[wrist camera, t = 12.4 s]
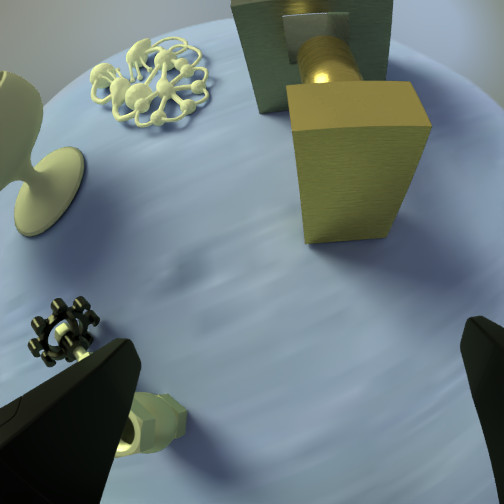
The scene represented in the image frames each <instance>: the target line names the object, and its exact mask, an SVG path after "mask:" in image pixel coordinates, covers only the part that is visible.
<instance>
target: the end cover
mask: <svg viewBox="0 0 504 504" xmlns="http://www.w3.org/2000/svg"><path fill="white" fill-rule="evenodd" d="M297 62H298V67H299V72H300V77H301V82H302V84H297V85H287V86H286V89H287V97H288V104H289V112H290V120H291V128H292V135H293V143H294V150H295V158H296V166H297V174H298V182H299V191H300V200H301V209H302V219H303V228H304V239H305V244H312V243H325V242H337V241H350V240H363V239H375V238H386V237H387V235H388V233H389V231H390V229H391V226H392V224H393V222H394V220H395V218H396V215H397V213H398V211H399V209H400V206H401V204H402V202H403V200H404V197H405V195H406V193H407V190H408V188H409V185H410V183H411V181H412V178H413V176H414V173H415V171H416V168H417V166H418V163H419V160H420V158H421V155H422V153H423V150H424V147H425V145H426V142H427V139H428V136H429V134H430V131H431V128H432V125H431V123H430V120H429V118H428V116H427V114H426V112H425V110H424V108H423V106H422V104H421V102H420V100H419V98H418V96H417V94H416V92H415V90H414V88H413V86H412V84H411V82H408V81H364V80H363V78H362V75H361V73H360V71H359V68H358V66H357V64H356V61H355V59H354V57H353V55H352V52H351V50H350V48H349V47H348V45H347V44H346V43H345V42H344V41H342V40H341V39H339V38H336V37H333V36H317V37H313V38H311V39H309V40H307V41H306V42H305V43H303V44H302V46H301V47H300V48H299V50H298V53H297Z"/></svg>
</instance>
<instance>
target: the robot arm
mask: <svg viewBox="0 0 504 504" xmlns="http://www.w3.org/2000/svg"><path fill="white" fill-rule="evenodd" d="M460 350H461V354H462V358H463V362H464V366H465V369H466V373H467V377H468V382H469V386H470V390H471V394H472V398H473V401H474V404H475V407H476V411H477V414H478V417H479V420H480V423H481V427H482V430H483V434H484V437H485V441H486V444H487V448H488V452H489V456H490V460H491V464H492V469H493V473H494V478H495V483H496V488H497V493H498V498H499V504H504V328H503V327H502V326H500V325H498V324H496V323H494V322H492V321H491V320H489V319H487V318H485V317H483V316H474V317H470V318H468V319H467V321H466V324H465V328H464V331H463V335H462V339H461V342H460ZM140 371H141V361H140V358H139V356H138V354H137V351H136V349H135V347H134V344H133V342H132V341H131V340H130V339H127V338H117V339H115V340H113V341H111V342H110V343H108V344H106V345H105V346H103V347H101V348H100V349H98V350H96V351H95V352H93V353H92V354H90V355H88V356H87V357H85V358H83V359H82V360H80V361H78V362H77V363H75V364H73V365H72V366H70V367H68V368H67V369H65V370H63V371H62V372H60V373H59V374H57V375H55V376H54V377H52V378H50V379H49V380H47V381H45V382H44V383H42V384H40V385H39V386H37V387H35V388H34V389H32V390H30V391H29V392H27V393H25V394H24V395H23V396H20V397H19V398H17V399H15V400H14V401H12V402H10V403H9V404H7V405H5V406H3V407H2V408H0V504H100V501H101V498H102V494H103V491H104V488H105V485H106V482H107V478H108V475H109V472H110V469H111V466H112V463H113V460H114V457H115V454H116V451H117V448H118V445H119V442H120V440H121V437H122V434H123V431H124V428H125V425H126V422H127V420H128V417H129V414H130V410H131V406H132V402H133V398H134V394H135V390H136V386H137V382H138V378H139V375H140Z"/></svg>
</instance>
